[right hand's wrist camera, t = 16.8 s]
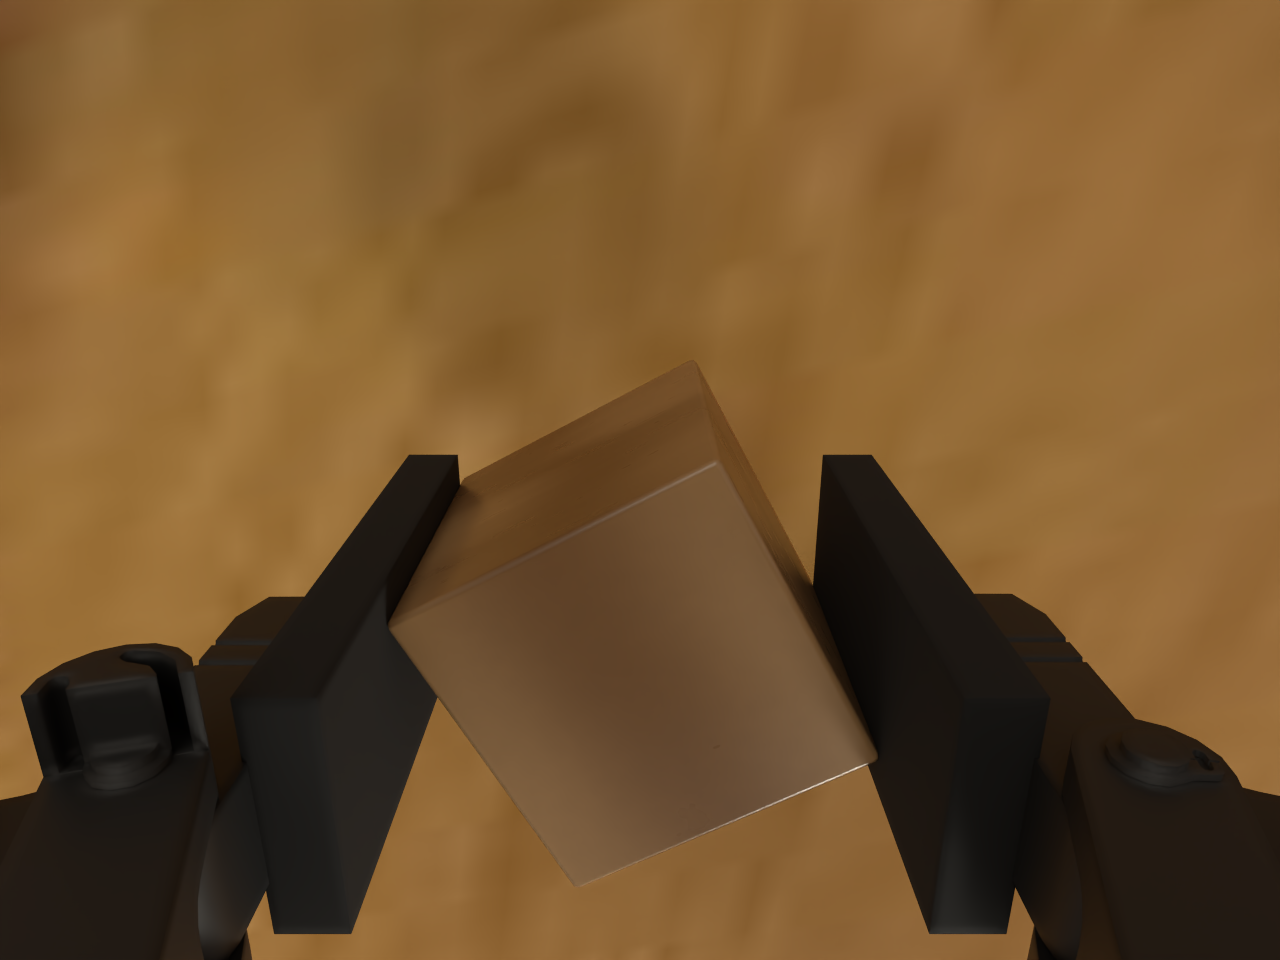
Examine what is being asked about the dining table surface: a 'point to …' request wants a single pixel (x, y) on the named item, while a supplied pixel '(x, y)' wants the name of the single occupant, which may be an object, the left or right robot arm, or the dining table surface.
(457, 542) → the block
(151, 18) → the dining table surface
